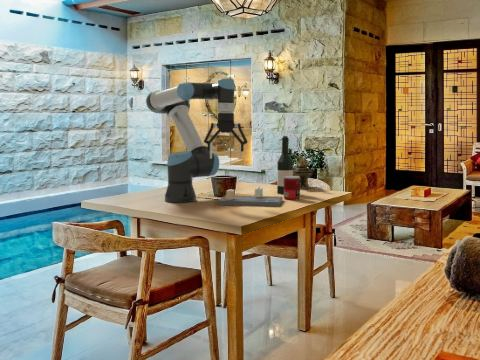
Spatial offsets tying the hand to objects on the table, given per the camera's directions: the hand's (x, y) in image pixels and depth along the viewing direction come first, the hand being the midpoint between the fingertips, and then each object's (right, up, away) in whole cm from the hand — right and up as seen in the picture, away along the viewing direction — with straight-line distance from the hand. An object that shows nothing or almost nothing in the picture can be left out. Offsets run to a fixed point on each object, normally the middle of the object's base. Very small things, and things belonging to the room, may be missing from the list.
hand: (225, 158), depth 242 cm
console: (+12, -21, +2) cm, 24 cm away
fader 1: (+2, -19, -1) cm, 19 cm away
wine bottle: (+30, -17, +31) cm, 47 cm away
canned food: (+32, -20, +13) cm, 40 cm away
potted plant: (+41, -15, +50) cm, 66 cm away
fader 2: (+16, -18, +6) cm, 25 cm away
